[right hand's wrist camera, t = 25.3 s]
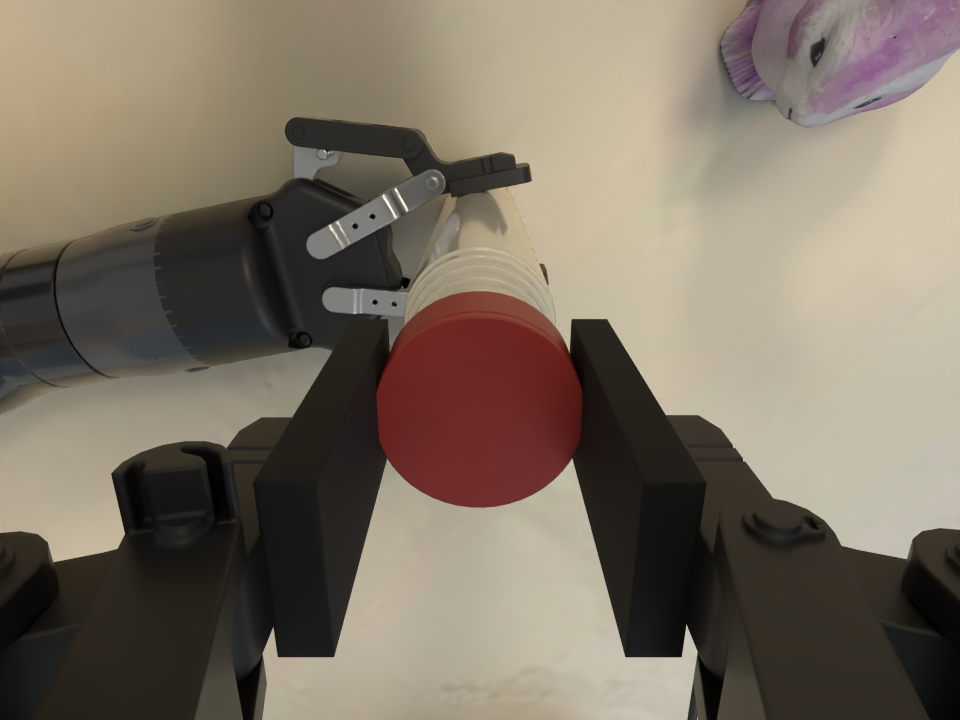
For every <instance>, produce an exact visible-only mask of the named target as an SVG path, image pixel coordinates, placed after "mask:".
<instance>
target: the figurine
mask: <svg viewBox="0 0 960 720" xmlns="http://www.w3.org/2000/svg"><path fill="white" fill-rule="evenodd" d="M721 46H722V50H721V53H722V57H723V58H724V62H726V63H727V64H726V67H728V72H729V73H730V77H731V78H732V80H731V81H732V82H733V85H734V86H735V87H736V89H737V92H739V93H740V94H741V96H743V97H745V98H747V99H750V100H769V99H771V100H775V101H776V104H777V107H778V109H779V111H780V112H781V114H782V115H783V116H784V117H785V118H787V119H789V120H791V121H792V122H794V123H796V124H798V125H799V126H802V127H806V128H808V127H818V126H822V125H825V124H828V123H830V122H833V121H836V120H838V119H841V118H844V117H847V116H851V115H854V114H857V113H860V112H865V111H869V110H874V109H878V108H881V107H885V106H887V105H890V104H892V103H895V102H897V101H900V100H902V99H904V98H906V97H908V96H909V95H911V94H912V93H914V92H915V91H917V90H918V89H920V88H921V87H922V86H923V85H924V84H926V83H927V82H928V81H929V80H930V79H931V78H932V77H933V76H934V75H935V74H936V73H937V72H938V71H939V70H940V69H941V67H942V66H943V65H944V63H945V62H946V61H947V60H948V58H949V57H950V56H951V55H952V54H953V53H954V52H956V51H957V50H959V49H960V0H752V1H751V3H750V5H749V7H748V8H746V9H745V10H744V12H743V13H742V14H741V15H740V16H739V17H738V19H736V20H735V21H734V22H733V23H732V24H731V26H730V27H729V28H728V29H727V31H726V33H725V34H724V36H723V38H722V41H721Z"/></svg>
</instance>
